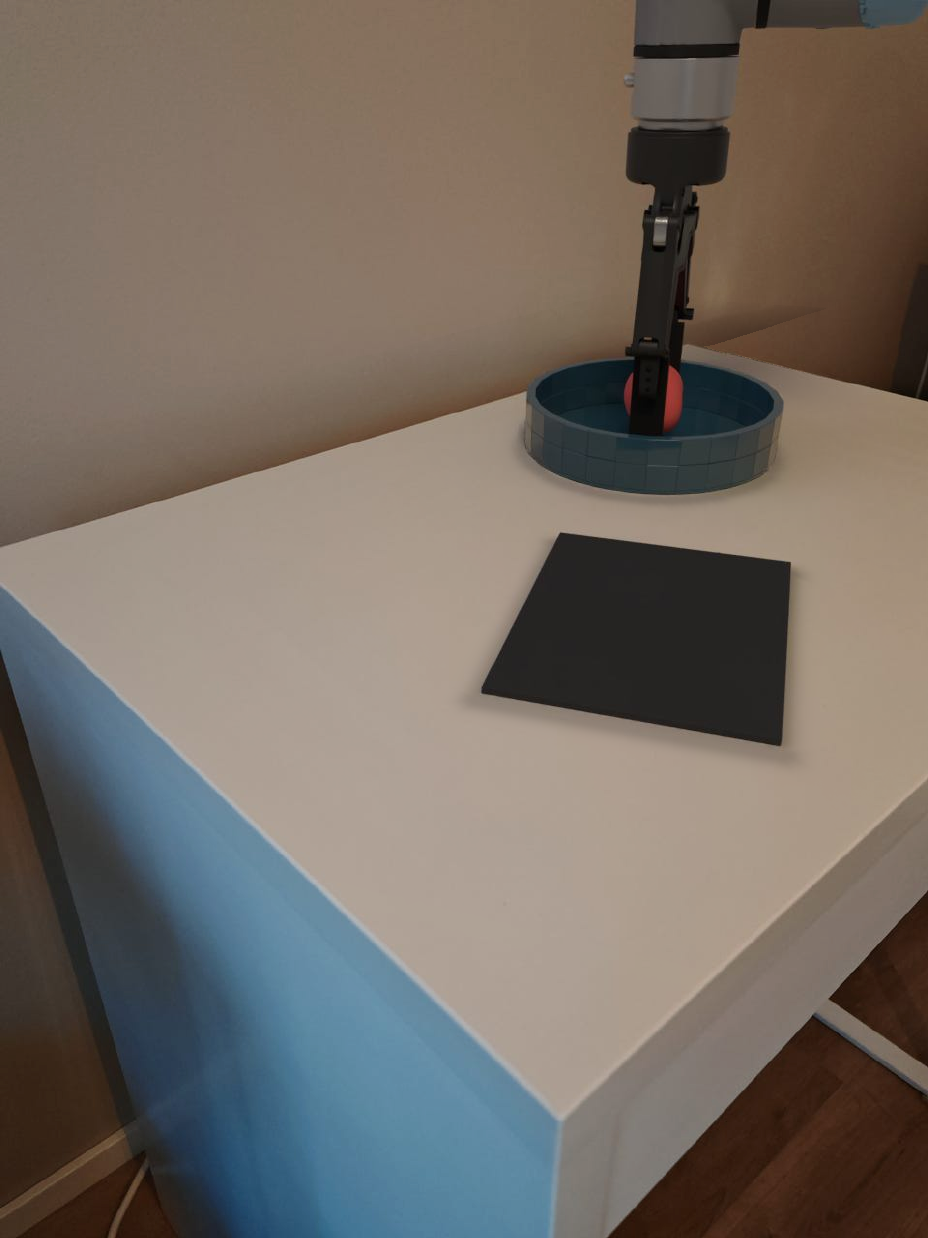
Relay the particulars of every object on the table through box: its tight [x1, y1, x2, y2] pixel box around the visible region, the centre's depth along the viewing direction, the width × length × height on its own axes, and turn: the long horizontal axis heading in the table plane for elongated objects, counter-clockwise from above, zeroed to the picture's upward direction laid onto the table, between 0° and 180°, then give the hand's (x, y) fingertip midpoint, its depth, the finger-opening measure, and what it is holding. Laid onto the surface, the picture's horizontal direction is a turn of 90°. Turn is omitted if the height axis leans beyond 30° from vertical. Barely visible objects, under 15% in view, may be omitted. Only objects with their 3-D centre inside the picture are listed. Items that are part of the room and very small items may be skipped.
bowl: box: [524, 356, 785, 495], centre depth 84 cm, size 22×22×4 cm
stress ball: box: [624, 365, 683, 434], centre depth 83 cm, size 5×9×6 cm, turn 157°
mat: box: [481, 531, 792, 746], centre depth 59 cm, size 16×20×1 cm
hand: (654, 413), depth 84 cm, fingers closed on stress ball, 10 cm apart
